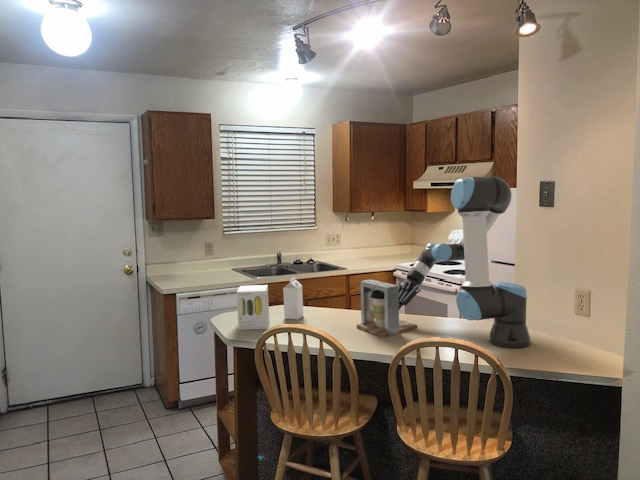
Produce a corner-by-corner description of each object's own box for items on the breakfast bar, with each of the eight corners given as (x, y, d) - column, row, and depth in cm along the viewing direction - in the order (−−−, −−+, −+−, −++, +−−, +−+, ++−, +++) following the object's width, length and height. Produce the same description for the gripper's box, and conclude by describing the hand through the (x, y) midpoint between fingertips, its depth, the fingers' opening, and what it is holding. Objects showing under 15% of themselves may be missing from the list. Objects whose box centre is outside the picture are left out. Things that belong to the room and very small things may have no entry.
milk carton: (284, 319, 241) (282, 279, 239) (289, 315, 248) (288, 276, 245) (298, 319, 239) (297, 280, 237) (303, 315, 246) (302, 277, 243)
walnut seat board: (417, 328, 220) (417, 325, 220) (381, 337, 209) (381, 333, 209) (391, 319, 234) (391, 316, 234) (356, 327, 223) (356, 324, 223)
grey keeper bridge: (399, 333, 214) (398, 285, 211) (388, 336, 210) (387, 287, 208) (371, 324, 229) (371, 279, 226) (361, 326, 225) (360, 281, 223)
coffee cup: (369, 328, 217) (367, 294, 215) (375, 321, 226) (373, 288, 224) (392, 329, 214) (390, 294, 212) (397, 322, 223) (395, 289, 221)
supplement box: (237, 330, 225) (235, 291, 223) (241, 322, 238) (239, 285, 236) (267, 329, 226) (266, 290, 224) (269, 321, 239) (268, 284, 237)
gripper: (432, 280, 226) (405, 324, 219) (412, 276, 237) (385, 317, 230) (423, 270, 223) (395, 314, 216) (403, 266, 233) (376, 308, 227)
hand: (390, 315), depth 223 cm, fingers closed
